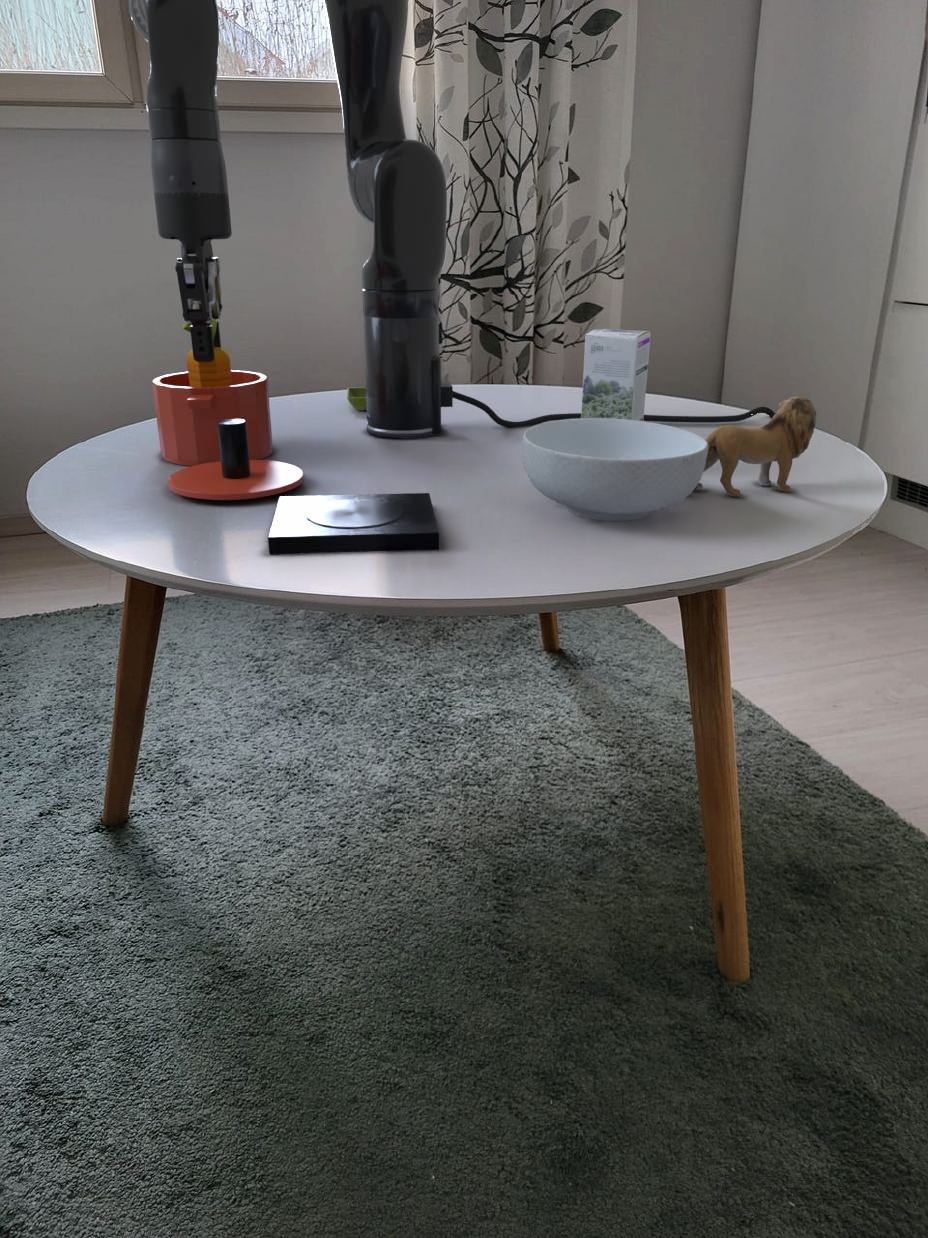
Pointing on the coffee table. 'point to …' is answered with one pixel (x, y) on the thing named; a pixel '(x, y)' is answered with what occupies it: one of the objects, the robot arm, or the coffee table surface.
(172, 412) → the pot
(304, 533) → the hob plate
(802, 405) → the lion figurine
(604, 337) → the syrup box
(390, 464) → the coffee table surface
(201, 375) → the carrot
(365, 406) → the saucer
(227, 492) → the pot lid
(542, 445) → the cereal bowl
